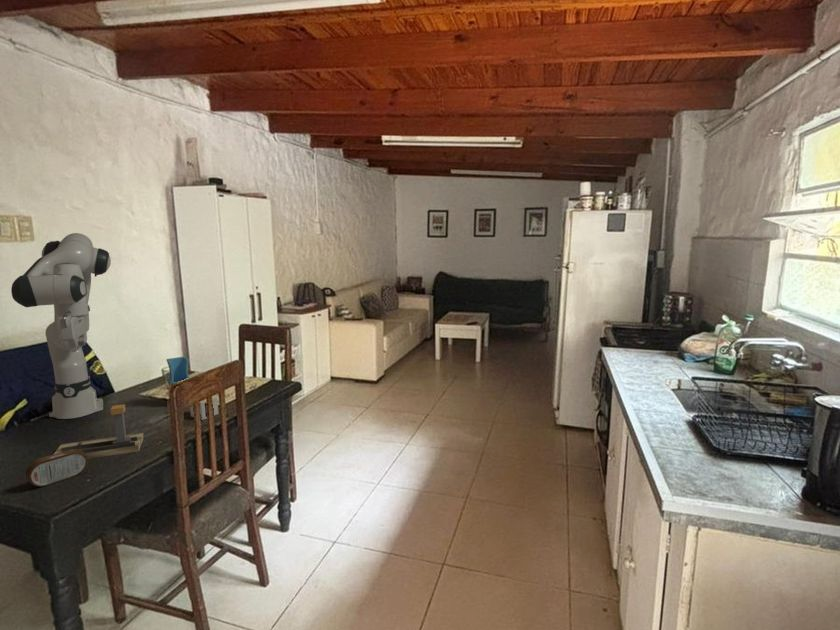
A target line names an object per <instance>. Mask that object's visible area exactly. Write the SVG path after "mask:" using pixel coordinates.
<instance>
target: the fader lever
mask: <svg viewBox="0 0 840 630" xmlns="http://www.w3.org/2000/svg"><path fill="white" fill-rule="evenodd" d="M125 412H126V404H116V405H112V406H111V408H110V414H111V416H113V421H114V428H115V437H117V439H114V441H113V445H116V444H123V443H129V442H131V437H128V438H126V435H127V431H126V424H125V423H126V422H125Z"/></svg>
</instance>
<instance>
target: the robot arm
mask: <svg viewBox="0 0 840 630" xmlns="http://www.w3.org/2000/svg"><path fill="white" fill-rule="evenodd" d="M111 261H112V259H111V255H110V253H109V252H108V251H107V250H105V249H103V248H100V247H99V248H97V247H94V245H93V242H92V240H91V239H90V237H88V236H87V235H85V234H84V233H78V232H72V233H69V234H67V235H66V236H65V237H64V238H62V240H60V241H59V240H53V241H48V242H47V243H46V244H45V246H43V248H42V250H41V257H40V258H38V259H36V261H34V263H32V265H31V266H30V267H29V268H28V269H27V270H26V271H25V273H23V274H22V275H20V276H18V277H17V278H16V279H15V280H14V281H13V282H12V284H11V287H10V288H11V296H12V299H13V300H14V302H16V303H17V304H18V305H20V306H22V307H24V308H32V307H38V306H51V305H53V311H54V312H53V313H54V318H53V319H54V321H52V322H51V323H50V324H48V326H47V327H46V329H45V338H46V342H47V344H46V345H47V347H48V351H49V355H50V360H51V362H52V367H53V374H54V381H55V382H54V387H53V388H54V391H55V394H54V395H53V396H52V397H51V401H52V403H51V404H52V405H51V406H52V411H51V413H49V414H48V417H49V418H56V419H60V420H68V419H69V420H71V419H76V418H81V417H84V416H88V415H91V414H93V413H96V412H100V411H103V410H104V400H103V398H101V397H99V398H97V390H96V389H95V388H94V387H92V383H91V376H90V375H89V373H88V365H87V358H86V357H85V354H84V352H83V347H85V345H86V343H87V341H88V333H87V332H88V331H89V330H90V314H89V313H90V311H91V306H90V304H89V300H90V294H91V293H90V292H91V286H92V275H93V274H94V277H95V278H96V277H98V276H99V275H103V274H105V273H107V271H108V270H109V269H110V267H111V263H112V262H111Z"/></svg>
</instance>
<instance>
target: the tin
mask: <svg viewBox="0 0 840 630" xmlns="http://www.w3.org/2000/svg"><path fill="white" fill-rule="evenodd" d="M88 464H89V459H88V458H87V456H86V455H85V453H84V452H83V451H81V450H78V449H71V450H67V451H64V452H60V453H57V454H54V453H53V454H50V455H47V456H43V457H39V458H37V459H36V460H34V461H33V462H31V463H30V464H29V466H28V467H27V468H26V471H25V478H26V480H27V481H28V482H29V483H30V485H32V486H35V487H38V488H40V487H42V488H43V487H47V486H50V485H52V484H56V483H59V482H63V481H65V480H68V479H71V478H75V477H77V476H79V475H80V474H83V472H84V471H85V470H86V468H87V467H88Z"/></svg>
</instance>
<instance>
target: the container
mask: <svg viewBox="0 0 840 630" xmlns="http://www.w3.org/2000/svg"><path fill="white" fill-rule="evenodd" d="M213 396H214V397H213V408H214V416H217V415H219V403H218V396H216V395H213ZM189 410H190V417H191V418H194V411H193V406H192V407H190V406H189ZM200 414H201V417H202V418H201V419H200V420H201V421H203V420H206V419H208V418H207V411H206V401H205V400H204V401H202V402H201V403H200Z"/></svg>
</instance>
